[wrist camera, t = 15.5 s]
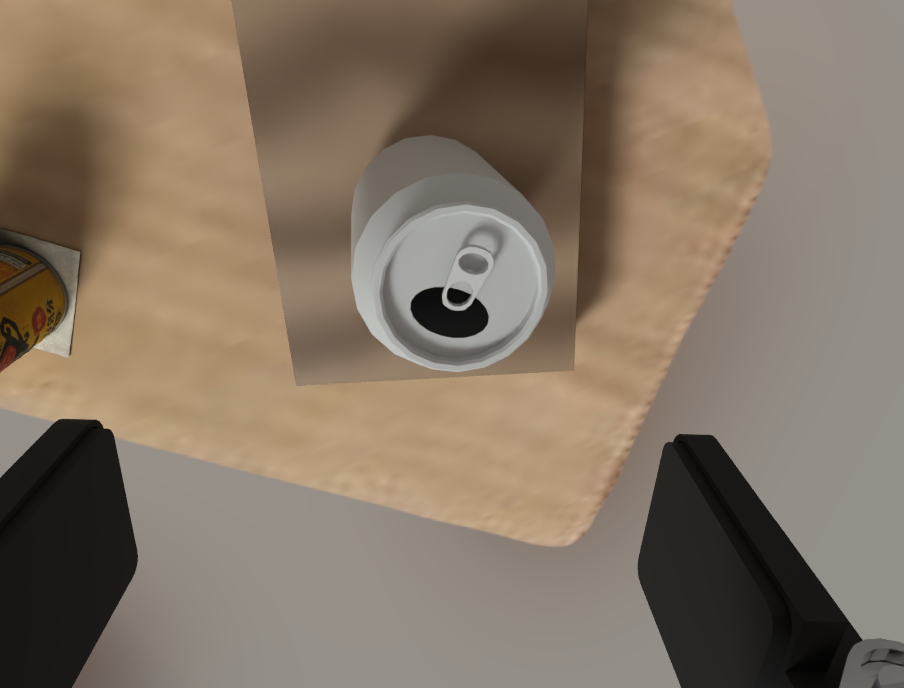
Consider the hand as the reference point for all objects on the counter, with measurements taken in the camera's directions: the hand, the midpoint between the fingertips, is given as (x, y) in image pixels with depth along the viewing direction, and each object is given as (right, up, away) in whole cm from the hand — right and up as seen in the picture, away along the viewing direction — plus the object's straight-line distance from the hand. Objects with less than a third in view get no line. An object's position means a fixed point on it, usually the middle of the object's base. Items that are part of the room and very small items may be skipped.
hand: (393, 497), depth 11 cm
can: (0, +9, +22) cm, 24 cm away
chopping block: (-1, +12, +26) cm, 29 cm away
